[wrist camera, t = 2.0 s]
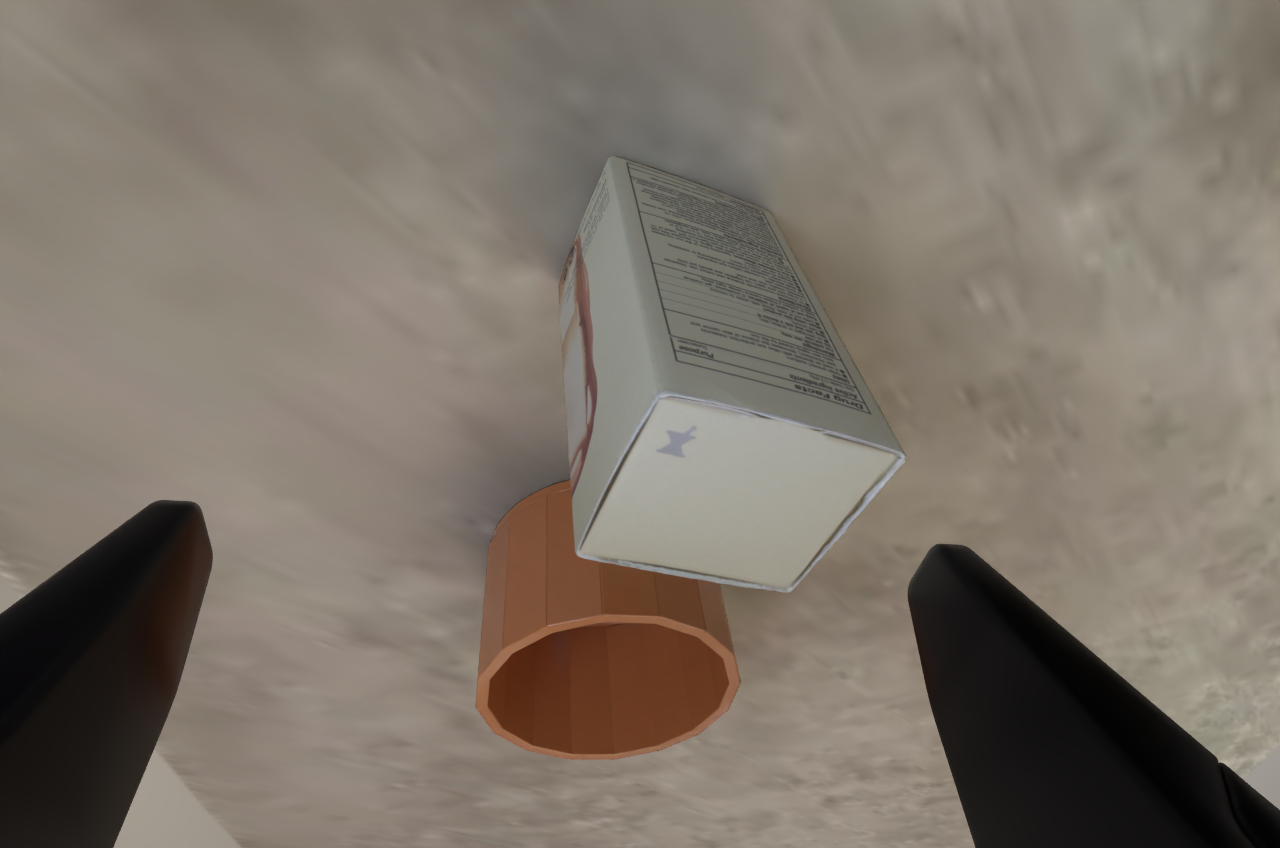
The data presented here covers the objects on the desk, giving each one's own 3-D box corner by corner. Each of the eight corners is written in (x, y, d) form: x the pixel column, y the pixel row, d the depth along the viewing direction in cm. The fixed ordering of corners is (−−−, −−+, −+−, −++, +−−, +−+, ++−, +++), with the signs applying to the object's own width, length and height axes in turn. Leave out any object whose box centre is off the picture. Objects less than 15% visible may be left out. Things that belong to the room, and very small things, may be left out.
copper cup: (733, 482, 28) (770, 619, 23) (684, 625, 33) (705, 759, 28) (494, 466, 26) (482, 610, 21) (483, 618, 31) (471, 760, 27)
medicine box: (553, 289, 22) (555, 557, 14) (608, 146, 19) (648, 377, 12) (712, 339, 23) (793, 605, 16) (783, 214, 21) (918, 456, 13)
